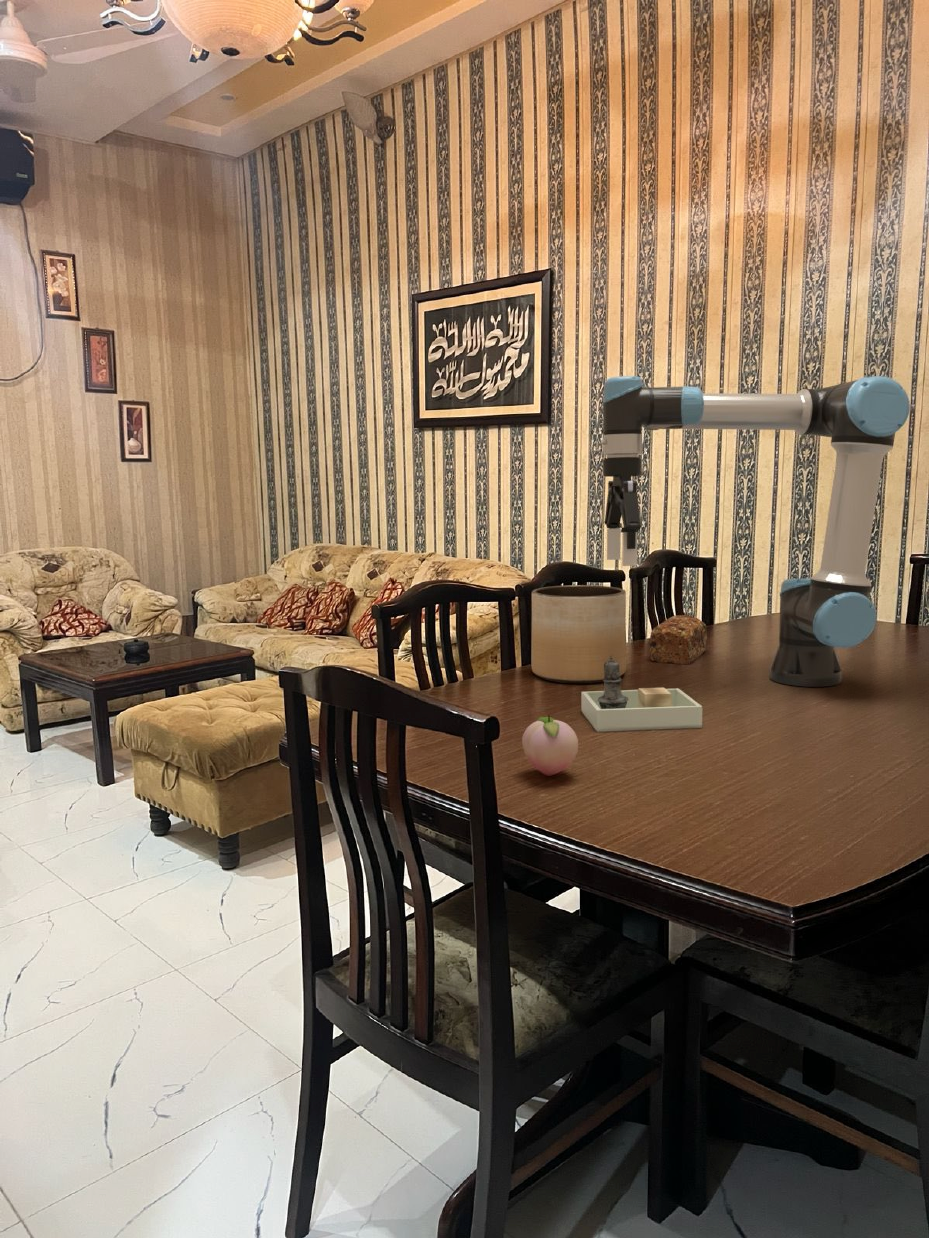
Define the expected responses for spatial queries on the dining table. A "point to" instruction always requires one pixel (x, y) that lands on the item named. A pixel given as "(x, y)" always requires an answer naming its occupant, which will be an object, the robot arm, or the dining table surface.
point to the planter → (577, 632)
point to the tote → (642, 713)
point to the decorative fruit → (550, 745)
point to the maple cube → (653, 697)
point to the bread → (678, 640)
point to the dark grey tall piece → (612, 687)
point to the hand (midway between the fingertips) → (621, 562)
